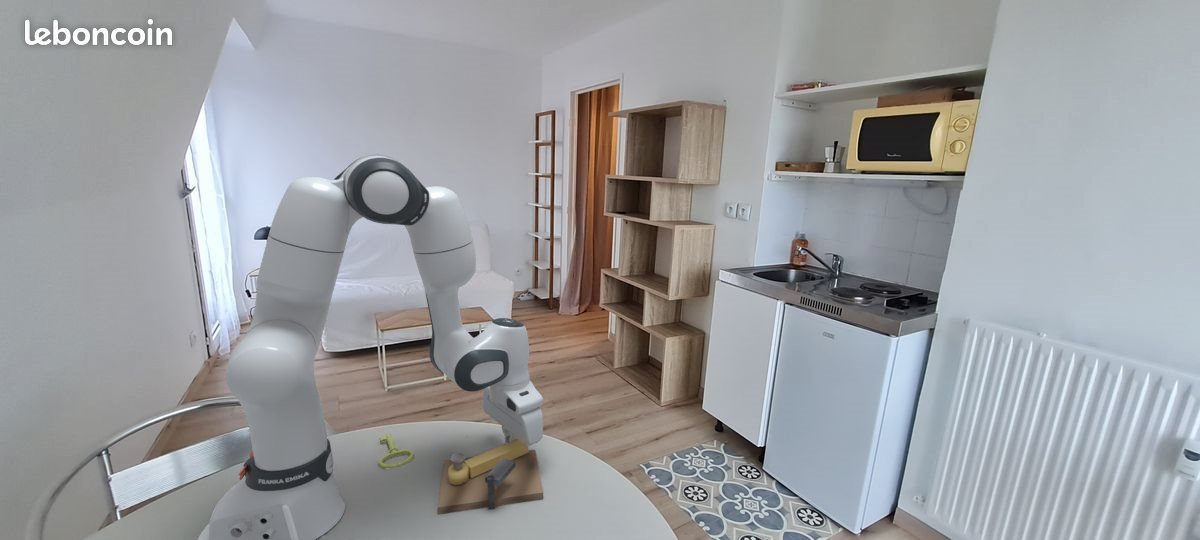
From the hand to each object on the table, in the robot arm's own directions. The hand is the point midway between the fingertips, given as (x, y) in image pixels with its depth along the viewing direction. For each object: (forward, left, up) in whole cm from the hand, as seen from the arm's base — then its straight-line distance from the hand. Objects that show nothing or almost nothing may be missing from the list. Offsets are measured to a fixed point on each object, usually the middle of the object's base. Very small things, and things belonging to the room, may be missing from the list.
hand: (511, 444), depth 108 cm
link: (-5, -6, -1) cm, 8 cm away
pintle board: (-5, -10, -3) cm, 11 cm away
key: (-26, +6, -3) cm, 27 cm away
